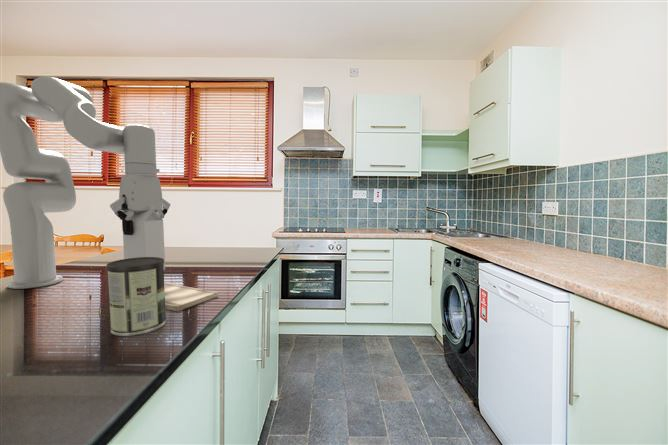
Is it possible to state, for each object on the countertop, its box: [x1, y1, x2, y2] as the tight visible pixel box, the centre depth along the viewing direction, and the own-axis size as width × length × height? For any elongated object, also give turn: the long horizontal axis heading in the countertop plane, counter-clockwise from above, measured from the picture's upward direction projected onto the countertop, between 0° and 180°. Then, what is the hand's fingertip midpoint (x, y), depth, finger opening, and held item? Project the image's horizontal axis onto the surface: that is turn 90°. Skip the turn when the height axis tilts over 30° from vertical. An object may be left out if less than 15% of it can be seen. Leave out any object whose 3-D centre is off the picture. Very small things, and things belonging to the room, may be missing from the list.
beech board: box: [164, 282, 219, 312], centre depth 87 cm, size 24×13×1 cm, turn 65°
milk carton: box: [122, 207, 166, 271], centre depth 89 cm, size 7×7×19 cm
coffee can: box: [105, 257, 167, 337], centre depth 67 cm, size 10×10×14 cm
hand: (143, 232), depth 89 cm, fingers closed on milk carton, 8 cm apart
